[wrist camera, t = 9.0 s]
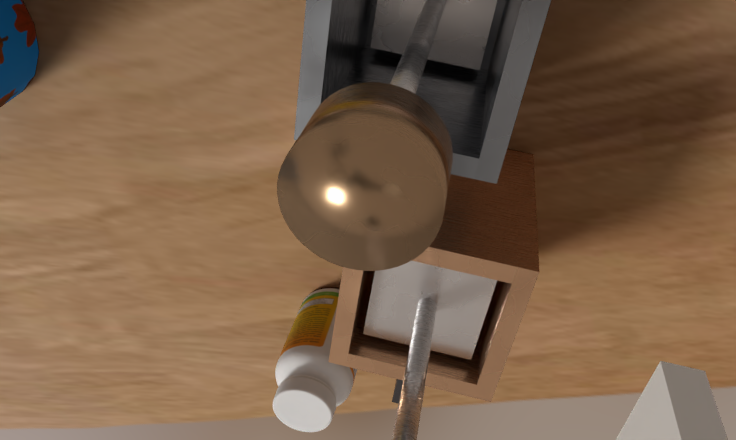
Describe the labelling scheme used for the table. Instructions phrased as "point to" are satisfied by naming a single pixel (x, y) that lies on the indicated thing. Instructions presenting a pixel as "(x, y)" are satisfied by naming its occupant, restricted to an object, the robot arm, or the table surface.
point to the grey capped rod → (426, 324)
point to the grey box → (428, 75)
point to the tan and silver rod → (383, 144)
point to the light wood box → (468, 255)
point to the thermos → (16, 49)
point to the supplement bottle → (311, 367)
